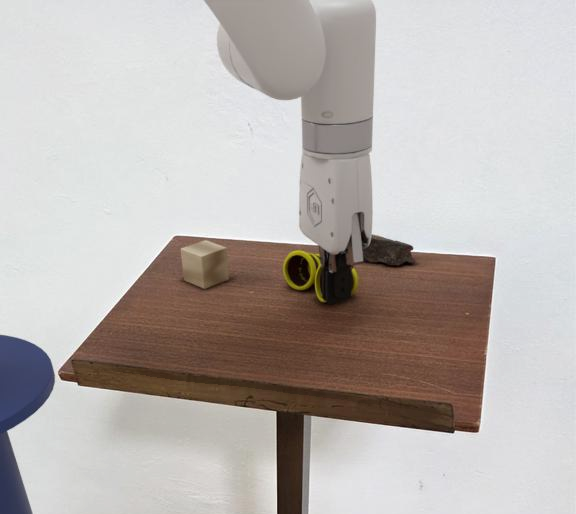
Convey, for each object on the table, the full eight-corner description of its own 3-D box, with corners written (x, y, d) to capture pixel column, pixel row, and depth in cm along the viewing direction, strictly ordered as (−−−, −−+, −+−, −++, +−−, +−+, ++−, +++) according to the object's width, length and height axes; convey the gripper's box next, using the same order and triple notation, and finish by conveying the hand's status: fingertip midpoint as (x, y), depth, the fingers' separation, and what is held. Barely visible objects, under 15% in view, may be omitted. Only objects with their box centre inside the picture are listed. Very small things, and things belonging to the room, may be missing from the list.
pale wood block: (204, 289, 99) (201, 256, 96) (183, 280, 101) (180, 248, 99) (229, 279, 101) (226, 247, 99) (208, 271, 104) (205, 239, 101)
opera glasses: (357, 304, 96) (364, 265, 93) (327, 308, 93) (334, 267, 90) (309, 282, 102) (314, 244, 99) (279, 285, 99) (284, 246, 96)
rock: (412, 276, 108) (427, 245, 104) (391, 291, 103) (406, 260, 100) (346, 233, 110) (358, 202, 106) (323, 246, 106) (335, 214, 102)
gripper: (276, 126, 84) (283, 284, 95) (337, 157, 73) (337, 330, 85) (336, 117, 86) (335, 273, 97) (404, 146, 75) (394, 316, 87)
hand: (336, 299), depth 91 cm, fingers closed
